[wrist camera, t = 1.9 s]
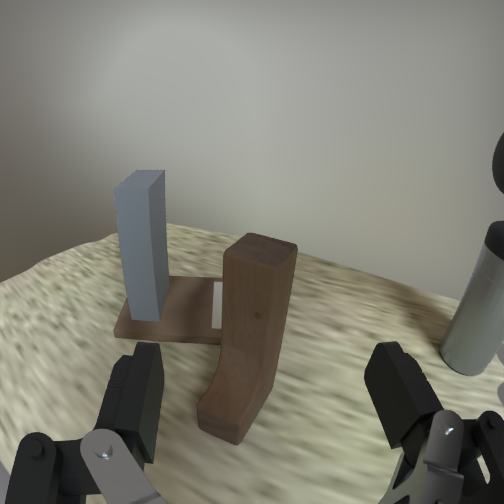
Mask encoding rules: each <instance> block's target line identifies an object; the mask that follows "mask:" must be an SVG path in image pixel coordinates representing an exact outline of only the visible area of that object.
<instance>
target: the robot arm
mask: <svg viewBox="0 0 504 504" xmlns="http://www.w3.org/2000/svg"><path fill="white" fill-rule="evenodd" d="M492 170H493V177H494V181H495V183H496V185H497V187H498V188H499V190H500V191H501V192H502V193H503V194H504V133H503V134H502V136H501V138H500V139H499V141H498V144H497V146H496V149H495V152H494V156H493V162H492ZM503 341H504V221H496V222H493V223H492V224H491V225H490V227H489V229H488V232H487V235H486V238H485V241H484V244H483V247H482V249H481V253H480V255H479V258H478V261H477V263H476V266H475V269H474V271H473V274H472V276H471V279H470V281H469V284H468V286H467V288H466V291H465V293H464V295H463V298H462V300H461V302H460V304H459V306H458V308H457V310H456V313H455V315H454V317H453V319H452V321H451V323H450V325H449V327H448V329H447V331H446V333H445V335H444V336H443V338H442V340H441V342H440V346H439V347H440V353H441V355H442V357H443V359H444V360H445V362H446V363H447V364H448V365H449V366H450V367H451V368H453V369H454V370H455V371H457V372H459V373H461V374H465V375H470V376H474V375H478V374H481V373H482V372H483V371H484V370H485V368H486V367H487V365H488V364H489V363H490V362H491V360H492V359H493V357H494V356H495V354H496V353H497V351H498V349H499V348H500V346H501V344H502V343H503ZM364 380H365V384H366V387H367V389H368V392H369V394H370V396H371V399H372V401H373V404H374V406H375V409H376V411H377V414H378V416H379V419H380V421H381V424H382V426H383V429H384V432H385V434H386V437H387V439H388V442H389V445H390V447H391V449H394V448H398V447H402V448H403V452H402V453H401V455H400V458H399V460H398V463H397V466H396V469H395V471H394V474H393V477H392V479H391V482H390V484H389V487H388V489H387V492H386V493H385V495H384V496H383V498H382V499H381V500H380V501H379V503H378V504H504V420H503V419H502V417H501V416H500V415H499V414H498V413H496V412H494V411H485V412H484V413H482V414H481V416H480V417H479V418H478V419H461V418H460V416H459V415H458V414H456V413H455V412H453V411H451V410H444V408H443V407H442V405H441V403H440V401H439V399H438V398H437V396H436V394H435V392H434V390H433V389H432V387H431V385H430V383H429V382H428V381H427V378H426V376H425V375H424V373H422V369H421V368H420V366H419V364H418V363H417V361H416V360H415V359H414V358H413V357H411V356H410V355H409V354H408V353H404V351H403V350H402V348H401V346H400V345H399V343H398V342H396V341H393V342H383V343H378V344H377V345H376V347H375V349H374V351H373V353H372V356H371V358H370V360H369V362H368V364H367V367H366V369H365V373H364ZM163 389H164V369H163V363H162V358H161V351H160V346H159V344H158V343H146V342H137V344H136V347H135V351H134V354H133V356H128V355H123V356H122V357H121V358H120V359H119V360H118V361H117V362H116V363H115V365H114V367H113V370H112V373H111V376H110V379H109V382H108V385H107V389H106V392H105V395H104V399H103V402H102V405H101V409H100V412H99V416H98V419H97V423H96V425H95V427H94V429H93V430H92V431H91V432H89V433H88V434H86V435H85V436H84V438H81V439H78V440H69V441H53V440H52V439H51V438H50V437H49V436H47V435H46V434H43V433H40V432H34V433H30V434H28V435H26V436H25V437H24V438H23V439H22V440H21V442H20V444H19V447H18V450H17V454H16V457H15V461H14V465H13V469H12V473H11V477H10V481H9V485H8V490H7V495H6V500H5V504H86V495H91V494H102V495H103V496H104V498H105V500H106V501H107V503H108V504H167V503H166V502H165V501H164V499H163V498H162V497H161V496H160V494H159V493H158V492H157V491H156V490H155V488H154V487H153V485H152V484H151V483H150V481H149V480H148V478H147V477H146V476H145V474H144V473H143V470H144V463H151V464H153V461H154V453H155V445H156V437H157V430H158V422H159V415H160V409H161V402H162V395H163ZM481 455H482V456H483V458H484V461H485V463H486V466H487V468H488V471H489V473H490V481H489V483H488V484H487V483H486V481H485V478H484V476H483V473H482V471H481V468H480V466H479V463H478V461H477V458H479V457H480V456H481Z"/></svg>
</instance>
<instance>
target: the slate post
mask: <svg viewBox="0 0 504 504" xmlns="http://www.w3.org/2000/svg"><path fill="white" fill-rule="evenodd" d="M114 195H115V208H116V219H117V228H118V237H119V245H120V253H121V260H122V267H123V274H124V280H125V286H126V292H127V298H128V303H129V309H130V314H131V319H132V320H142V321H156V322H160V319H161V315H162V311H163V307H164V304H165V300H166V296H167V292H168V289H169V285H170V283H169V270H168V254H167V236H166V211H165V170H136V171H135V172H134V173H133V174H131V175H130V176H129V177H127V178H126V179H125V180H124V181H123V182H122V183H120V184H119V185H118V186H117V187H115V188H114Z"/></svg>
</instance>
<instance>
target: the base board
mask: <svg viewBox="0 0 504 504" xmlns="http://www.w3.org/2000/svg"><path fill="white" fill-rule="evenodd" d="M169 283H170V285H169V289H168V292H167V296H166V300H165V304H164V307H163V311H162V315H161V319H160V322H156V321H142V320H132V319H131V314H130V309H129V303H128V298H127V299H126V301H125V303H124V306H123V308H122V311H121V313H120V315H119V318H118V320H117V323H116V325H115V328H114V330H113V331H114V335H115V337H118V338H128V339H139V340H151V341H166V342H183V343H205V344H221V323H222V283H223V278H206V277H179V276H169Z"/></svg>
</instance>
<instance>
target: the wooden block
mask: <svg viewBox="0 0 504 504" xmlns="http://www.w3.org/2000/svg"><path fill="white" fill-rule="evenodd" d="M297 251H298V248H297V245H296V244H293V243H290V242H286V241H282V240H278V239H274V238H270V237H266V236H263V235H259V234H255V233H247V234H246V235H245V236H243V237H242V238H241V239H239V240H238V241H237V242H236V243H234V244H233V245H232V246H230V247H229V248H228V249H227V250H225V252H224V255H223V283H222V323H221V352H220V358H219V364H218V367H217V370H216V372H215V375H214V377H213V380H212V383H211V385H210V386H209V388H208V389H207V391H206V392H205V394H204V395H203V397H202V398H201V400H200V401H199V403H198V404H197V415H198V424H199V428H200V429H202V430H204V431H206V432H208V433H210V434H212V435H214V436H216V437H218V438H220V439H223V440H225V441H227V442H229V443H231V444H234V445H238V444H240V442H241V441H242V439H243V438H244V436H245V434H246V433H247V431H248V429H249V428H250V426H251V424H252V423H253V421H254V419H255V418H256V416H257V414H258V412H259V411H260V409H261V407H262V405H263V404H264V402H265V400H266V398H267V397H268V395H269V393H270V391H271V390H272V388H273V383H274V379H275V374H276V369H277V364H278V359H279V354H280V349H281V343H282V338H283V333H284V327H285V322H286V316H287V311H288V305H289V299H290V294H291V288H292V282H293V276H294V270H295V264H296V257H297Z"/></svg>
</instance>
